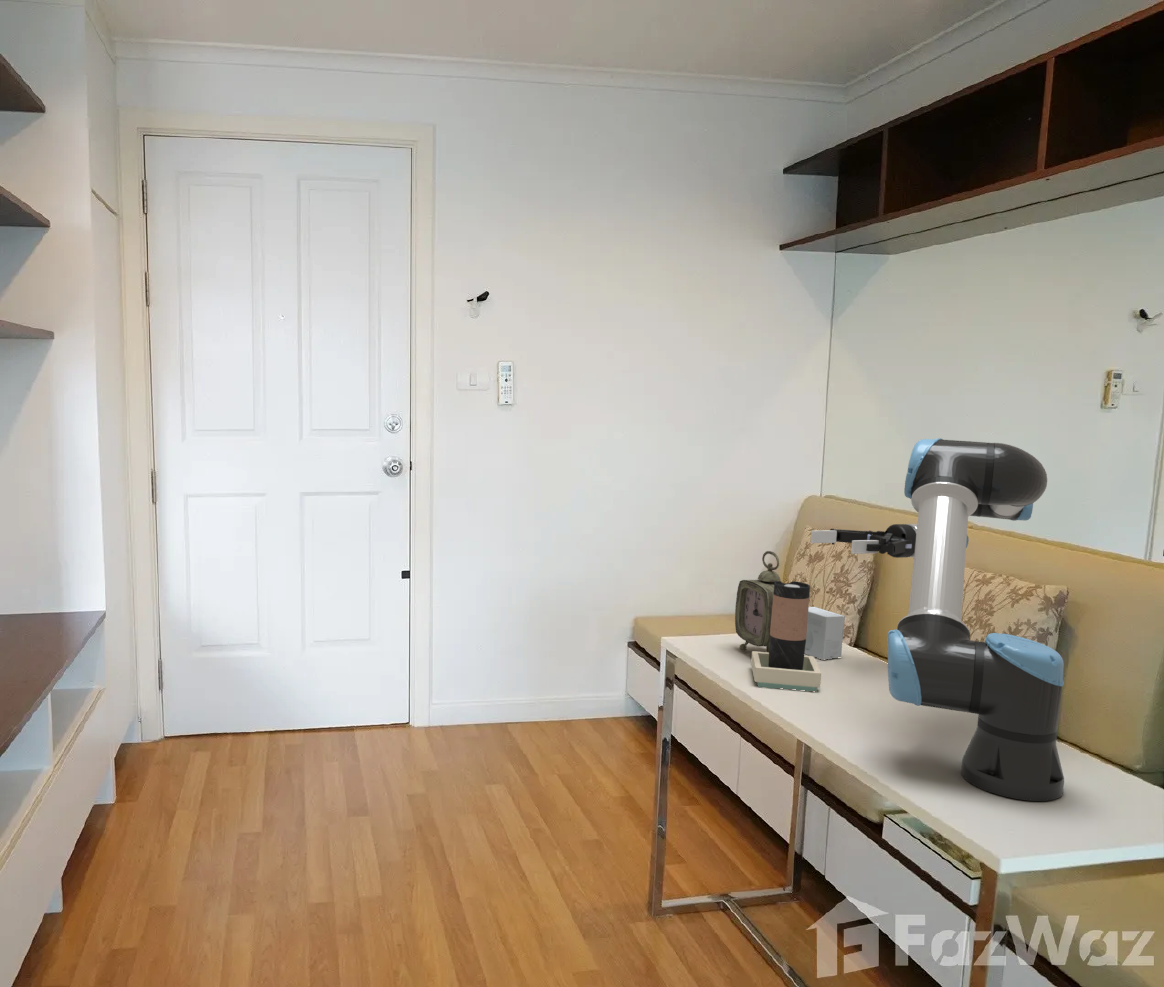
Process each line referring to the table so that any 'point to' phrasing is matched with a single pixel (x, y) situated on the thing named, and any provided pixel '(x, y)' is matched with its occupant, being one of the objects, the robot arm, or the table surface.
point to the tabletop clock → (756, 606)
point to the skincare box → (824, 634)
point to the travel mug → (789, 625)
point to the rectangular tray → (785, 674)
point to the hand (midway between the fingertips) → (831, 541)
